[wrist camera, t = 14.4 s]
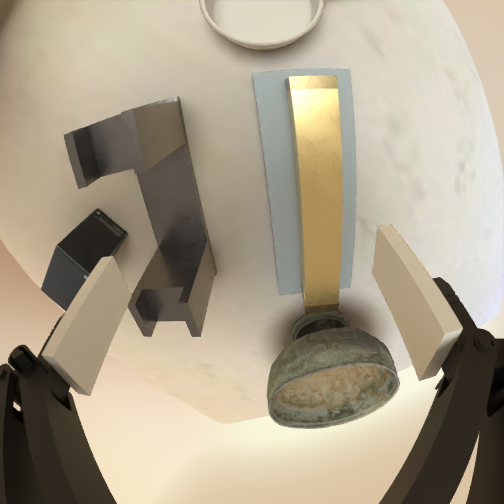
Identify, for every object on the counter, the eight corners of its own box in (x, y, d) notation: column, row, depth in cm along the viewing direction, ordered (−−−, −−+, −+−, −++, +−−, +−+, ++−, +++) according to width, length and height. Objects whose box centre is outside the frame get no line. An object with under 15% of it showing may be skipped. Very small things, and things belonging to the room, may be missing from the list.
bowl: (364, 357, 50) (380, 421, 37) (269, 364, 51) (268, 434, 39) (388, 280, 40) (424, 355, 27) (264, 287, 41) (264, 374, 28)
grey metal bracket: (171, 275, 40) (145, 339, 30) (125, 111, 28) (62, 129, 17) (216, 271, 40) (201, 339, 29) (178, 96, 27) (131, 102, 17)
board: (278, 283, 40) (279, 294, 38) (253, 75, 26) (252, 73, 24) (346, 276, 39) (350, 287, 37) (343, 70, 25) (349, 68, 23)
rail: (301, 287, 38) (305, 313, 33) (284, 79, 24) (289, 76, 20) (330, 284, 37) (338, 310, 33) (324, 78, 23) (337, 75, 19)
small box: (96, 205, 35) (54, 243, 26) (129, 233, 37) (95, 278, 28) (72, 250, 39) (38, 290, 30) (101, 274, 41) (72, 318, 32)
